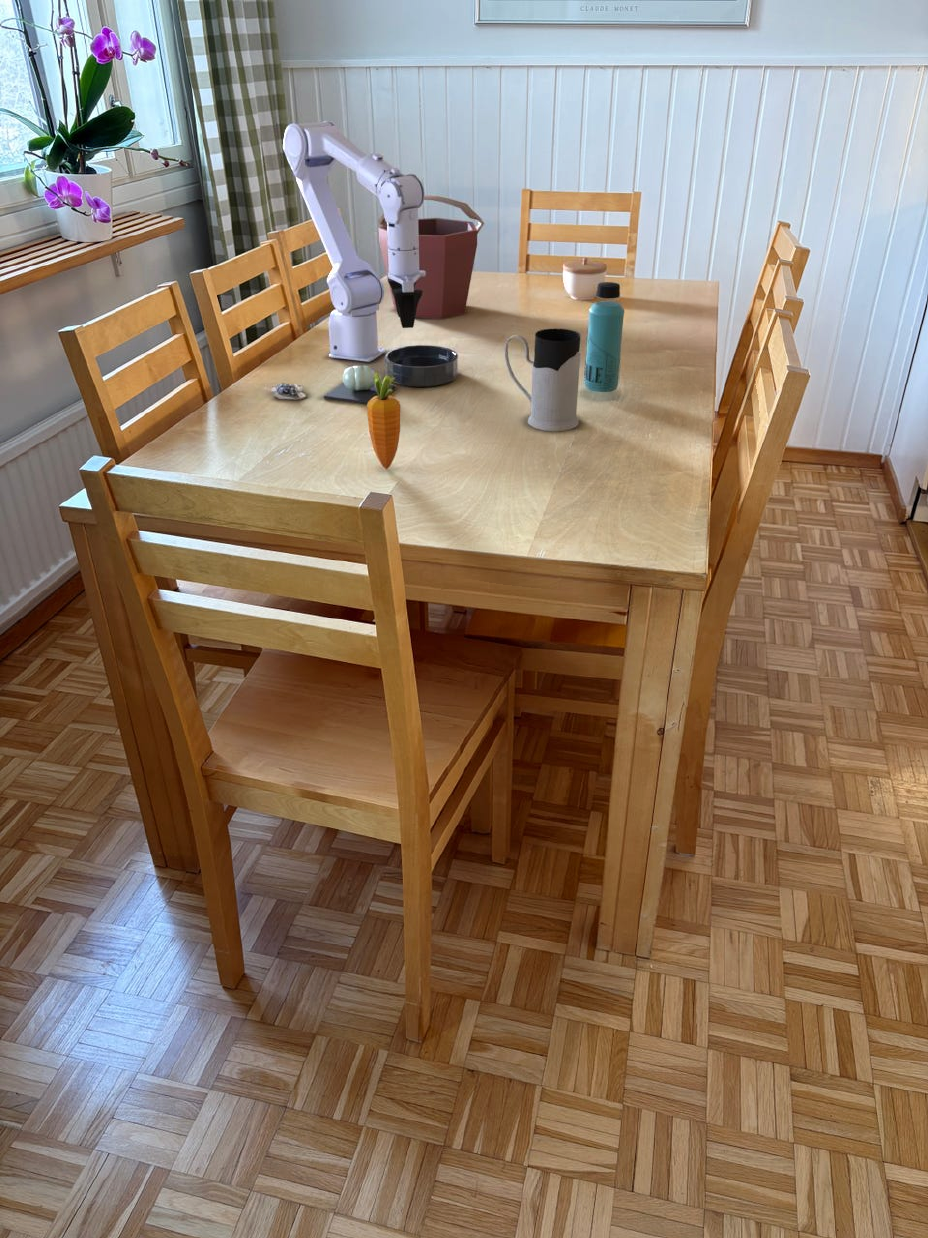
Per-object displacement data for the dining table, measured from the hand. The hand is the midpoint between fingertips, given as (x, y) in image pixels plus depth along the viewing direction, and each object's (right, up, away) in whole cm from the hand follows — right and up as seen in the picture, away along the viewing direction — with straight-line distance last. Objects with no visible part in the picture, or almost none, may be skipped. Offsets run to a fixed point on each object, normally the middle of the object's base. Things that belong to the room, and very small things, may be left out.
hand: (405, 321), depth 181 cm
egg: (-8, -13, -8) cm, 17 cm away
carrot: (-1, -34, -36) cm, 50 cm away
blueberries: (-21, -16, -7) cm, 27 cm away
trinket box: (+41, +23, +54) cm, 71 cm away
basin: (+3, -10, +2) cm, 11 cm away
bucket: (+3, +16, +43) cm, 46 cm away
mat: (-8, -15, -6) cm, 18 cm away
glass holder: (+24, -23, -17) cm, 38 cm away
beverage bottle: (+37, -16, -7) cm, 40 cm away
